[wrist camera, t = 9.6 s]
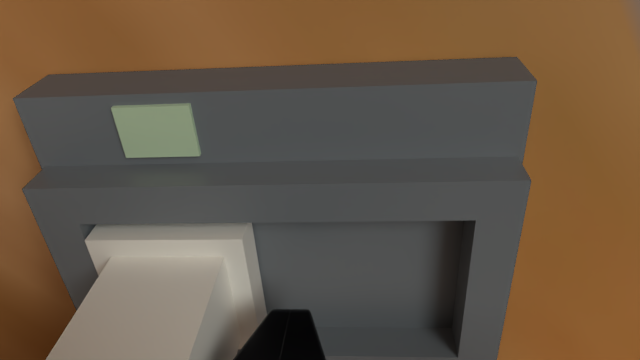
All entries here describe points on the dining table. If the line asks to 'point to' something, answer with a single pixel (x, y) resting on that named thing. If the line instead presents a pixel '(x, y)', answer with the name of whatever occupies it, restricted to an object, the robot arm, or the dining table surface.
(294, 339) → the robot arm
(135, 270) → the tab
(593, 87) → the dining table surface
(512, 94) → the switch bank
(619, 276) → the dining table surface
